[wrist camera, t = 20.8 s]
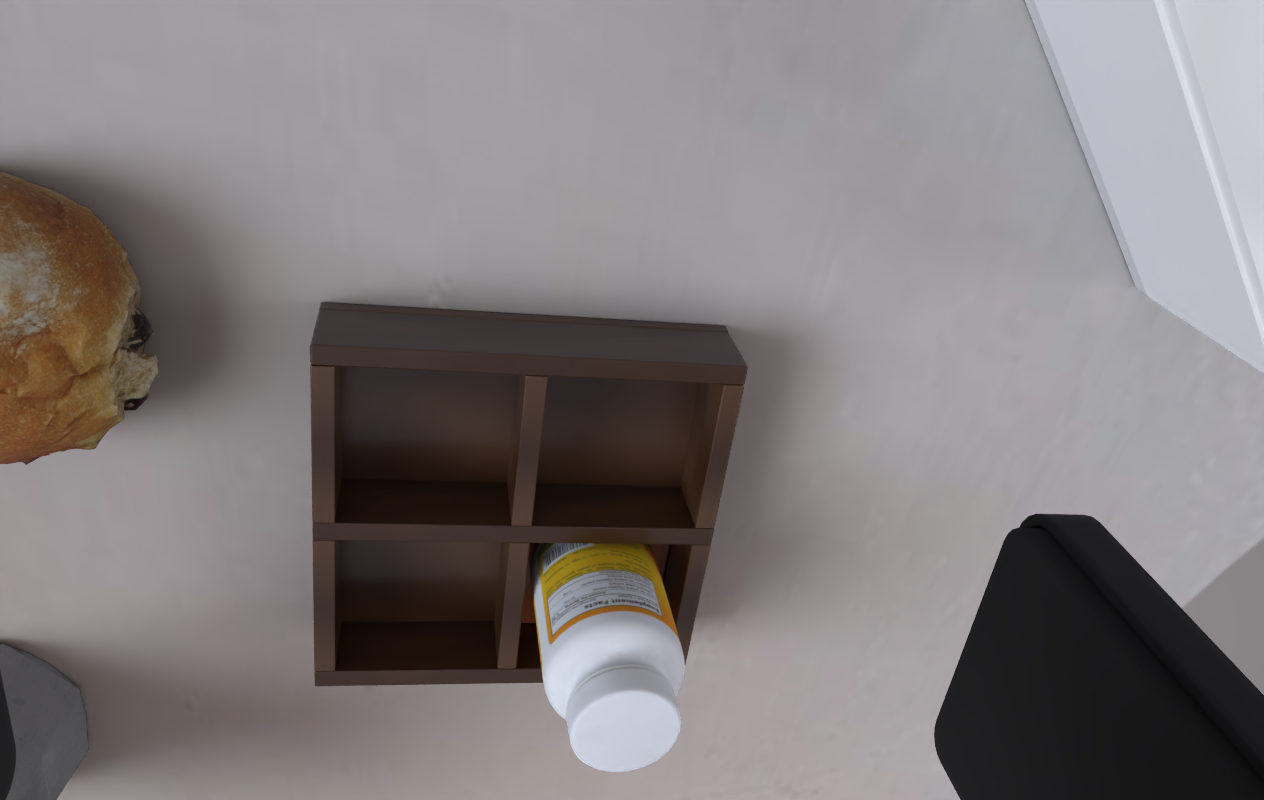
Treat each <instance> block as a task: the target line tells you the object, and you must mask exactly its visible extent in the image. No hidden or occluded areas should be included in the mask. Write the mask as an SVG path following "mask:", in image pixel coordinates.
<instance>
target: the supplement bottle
mask: <svg viewBox="0 0 1264 800" xmlns="http://www.w3.org/2000/svg"><path fill="white" fill-rule="evenodd" d="M530 575H531V587H532V595H533V602H534V611H535V619H536V627H537V635H538V644H539V652H540V662H541V670H542V677H543V683H544V688H545V692H546V695H547V697H548V700H549V702H550V703H551V705H552V706H553V708H554V709H555V710H556V712H557V713H558V714H559V715H560V716H562V717H563V718H564V719H565V720H566V723H567V727H568V732H569V737H570V743H571V746H572V749H573V751H574V753H575V754H576V756H577V757H578V758H579V759H580V760H581V761H583V762H584V763H585V764H587V765H589V766H590V767H593V768H595V769H599V770H603V771H608V772H624V771H631V770H635V769H639V768H642V767H644V766H647V765H649V764H651V763H653V762H655V761H657V760H658V759H660V758H661V757H662V756H664V755H665V754H666V753H667V752H668V751H669V750H670V749H671V748H672V747H673V745H674V744H675V742H676V740H677V738H678V736H679V733H680V729H681V716H680V712H679V707H678V704H677V700H676V695H677V693H678V691H679V689H680V687H681V685H682V682H683V678H684V672H685V660H684V655H683V651H682V646H681V642H680V639H679V636H678V632H677V629H676V625H675V622H674V619H673V615H672V612H671V609H670V605H669V602H668V598H667V595H666V592H665V588H664V585H663V581H662V578H661V574H660V571H659V568H658V565H657V561H656V558H655V555H654V552H653V549H652V547H651V544H596V543H539V545H538V546H537V548H536V550H535V552H534V554H533V557H532V561H531V568H530Z"/></svg>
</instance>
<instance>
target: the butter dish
mask: <svg viewBox="0 0 1264 800" xmlns="http://www.w3.org/2000/svg"><path fill="white" fill-rule="evenodd" d="M1025 3H1026V5H1027V8H1028V10H1029V13H1030V16H1031V18H1032V21H1033V23H1034V26H1035V28H1036V31H1037V34H1038V36H1039V39H1040V41H1041V44H1042V46H1043V49H1044V52H1045V54H1046V57H1047V59H1048V62H1049V64H1050V67H1051V70H1052V72H1053V75H1054V77H1055V80H1056V83H1057V85H1058V88H1059V90H1060V93H1061V95H1062V98H1063V101H1064V103H1065V106H1066V108H1067V111H1068V113H1069V116H1070V119H1071V121H1072V124H1073V126H1074V129H1075V132H1076V134H1077V137H1078V139H1079V142H1080V144H1081V147H1082V150H1083V152H1084V155H1085V157H1086V160H1087V162H1088V165H1089V168H1090V170H1091V173H1092V175H1093V178H1094V181H1095V183H1096V186H1097V188H1098V191H1099V193H1100V196H1101V199H1102V201H1103V204H1104V206H1105V209H1106V211H1107V214H1108V217H1109V219H1110V222H1111V224H1112V227H1113V229H1114V232H1115V235H1116V237H1117V240H1118V242H1119V245H1120V248H1121V250H1122V253H1123V255H1124V258H1125V260H1126V263H1127V266H1128V268H1129V271H1130V273H1131V276H1132V278H1133V281H1134V284H1135V286H1136V288H1137V289H1138V290H1140V291H1141V292H1143V293H1144V294H1146V295H1147V296H1148V297H1149V298H1151V299H1152V300H1154V301H1155V302H1157V303H1158V304H1160V305H1161V306H1163V307H1164V308H1166V309H1167V310H1169V311H1170V312H1172V313H1173V314H1175V315H1176V316H1178V317H1179V318H1181V319H1182V320H1184V321H1185V322H1187V323H1188V324H1190V325H1191V326H1193V327H1194V328H1196V329H1198V330H1199V331H1201V332H1202V333H1204V334H1205V335H1207V336H1208V337H1210V338H1211V339H1213V340H1214V341H1216V342H1217V343H1219V344H1220V345H1222V346H1223V347H1225V348H1226V349H1228V350H1229V351H1231V352H1232V353H1234V354H1235V355H1237V356H1238V357H1240V358H1241V359H1243V360H1244V361H1246V362H1247V363H1249V364H1251V365H1252V366H1254V367H1255V368H1257V369H1258V370H1260V371H1261V372H1263V373H1264V0H1025Z"/></svg>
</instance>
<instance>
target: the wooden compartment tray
mask: <svg viewBox="0 0 1264 800" xmlns="http://www.w3.org/2000/svg"><path fill="white" fill-rule="evenodd" d="M310 362H311V366H310V374H311V446H312V519H313V591H314V664H315V686H355V685H418V684H481V683H543V677H542V670H541V662H540V652H539V644H538V635H537V627H536V619H535V611H534V602H533V595H532V587H531V575H530V568H531V561H532V557H533V554H534V552H535V550H536V548H537V546H538V545H539V543H596V544H651V547H652V549H653V552H654V555H655V558H656V561H657V565H658V568H659V571H660V574H661V578H662V581H663V585H664V588H665V592H666V595H667V598H668V602H669V605H670V609H671V612H672V615H673V619H674V622H675V625H676V629H677V632H678V636H679V639H680V642H681V646H682V651H683V655H684V660H685V664H686V659H687V655H688V650H689V645H690V640H691V636H692V631H693V626H694V621H695V617H696V612H697V607H698V602H699V598H700V593H701V588H702V583H703V579H704V574H705V569H706V565H707V560H708V555H709V550H710V544H711V541H712V536H713V531H714V529H713V528H714V525H715V521H716V516H717V511H718V507H719V502H720V497H721V492H722V488H723V483H724V478H725V473H726V469H727V464H728V459H729V454H730V450H731V445H732V440H733V435H734V431H735V426H736V421H737V417H738V412H739V407H740V402H741V398H742V393H743V388H744V386H743V385H744V383H745V378H746V374H747V369H748V367H747V365H746V363H745V361H744V359H743V358H742V356H741V354H740V352H739V351H738V349H737V347H736V345H735V344H734V342H733V340H732V338H731V337H730V335H729V333H728V331H727V329H726V327H725V326H716V325H699V324H682V323H665V322H648V321H631V320H614V319H597V318H579V317H562V316H545V315H528V314H511V313H494V312H477V311H460V310H443V309H426V308H409V307H392V306H375V305H358V304H340V303H321V305H320V309H319V314H318V317H317V321H316V325H315V329H314V333H313V337H312V341H311V345H310Z"/></svg>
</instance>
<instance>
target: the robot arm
mask: <svg viewBox="0 0 1264 800" xmlns="http://www.w3.org/2000/svg"><path fill="white" fill-rule="evenodd" d="M934 738H935V746H936V751H937V755H938V757H939V759H940V762H941V764H942V766H943V767H944V769H945V771H946V773H947V775H948V777H949V779H950V781H951V782H952V784H953V786H954V788H955V790H956V792H957V794H958V796H959V797H960V799H961V800H1264V695H1263V694H1262V693H1261V692H1260V691H1259V690H1258V689H1257V688H1256V687H1255V686H1254V685H1253V684H1252V682H1251V681H1250V680H1249V679H1248V678H1247V677H1246V676H1245V675H1244V674H1243V673H1242V672H1241V671H1240V670H1239V669H1238V668H1237V667H1236V666H1235V665H1234V663H1233V662H1232V661H1231V660H1230V659H1229V658H1228V657H1227V656H1226V655H1225V654H1224V653H1223V652H1222V651H1221V650H1220V649H1219V648H1218V647H1217V646H1216V645H1215V644H1214V643H1213V642H1212V640H1211V639H1210V638H1209V637H1208V636H1207V635H1206V634H1205V633H1204V632H1203V631H1202V630H1201V629H1200V628H1199V627H1198V626H1197V624H1196V623H1194V621H1193V620H1192V619H1191V618H1190V617H1189V616H1188V615H1187V614H1186V613H1185V612H1184V611H1183V610H1182V609H1181V608H1180V607H1179V605H1178V604H1177V603H1176V602H1175V601H1174V600H1173V599H1172V598H1171V597H1170V596H1169V595H1168V594H1167V593H1166V592H1165V591H1164V590H1163V589H1162V588H1161V586H1160V585H1159V584H1158V583H1157V582H1156V581H1155V580H1154V579H1153V578H1152V577H1151V576H1150V575H1149V574H1148V573H1147V572H1146V571H1145V570H1144V569H1143V568H1142V566H1141V565H1140V564H1139V563H1138V562H1137V561H1136V560H1135V559H1134V558H1133V557H1132V556H1131V555H1130V554H1129V553H1128V552H1127V551H1126V550H1125V549H1124V547H1123V546H1122V545H1121V544H1120V543H1119V542H1118V541H1117V540H1116V539H1115V538H1114V537H1113V536H1112V535H1111V534H1110V533H1109V532H1108V531H1107V530H1106V528H1105V527H1104V526H1103V525H1102V524H1101V523H1100V522H1098V521H1097V520H1096V519H1094V518H1093V517H1091V516H1086V515H1066V514H1034V515H1031V516H1028V517H1027V518H1026V519H1025V520H1024V521H1023V522H1022V524H1021V525H1020V527H1019V528H1016V529H1013V530H1012V531H1011V532H1009V533H1008V534H1007V536H1006V538H1005V540H1004V542H1003V545H1002V548H1001V550H1000V553H999V556H998V558H997V561H996V564H995V566H994V569H993V572H992V574H991V577H990V580H989V582H988V585H987V588H986V590H985V593H984V595H983V598H982V601H981V603H980V606H979V609H978V611H977V614H976V617H975V619H974V622H973V625H972V627H971V630H970V633H969V635H968V638H967V641H966V643H965V646H964V649H963V651H962V654H961V657H960V659H959V662H958V665H957V667H956V670H955V673H954V675H953V678H952V681H951V683H950V686H949V688H948V691H947V694H946V696H945V699H944V702H943V704H942V707H941V710H940V712H939V715H938V718H937V721H936V725H935V733H934ZM15 766H16V745H15V739H14V735H13V730H12V725H11V720H10V715H9V710H8V705H7V700H6V696H5V691H4V686H3V681H2V676H1V671H0V800H6V798H7V796H8V793H9V791H10V788H11V785H12V781H13V777H14V773H15Z"/></svg>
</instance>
